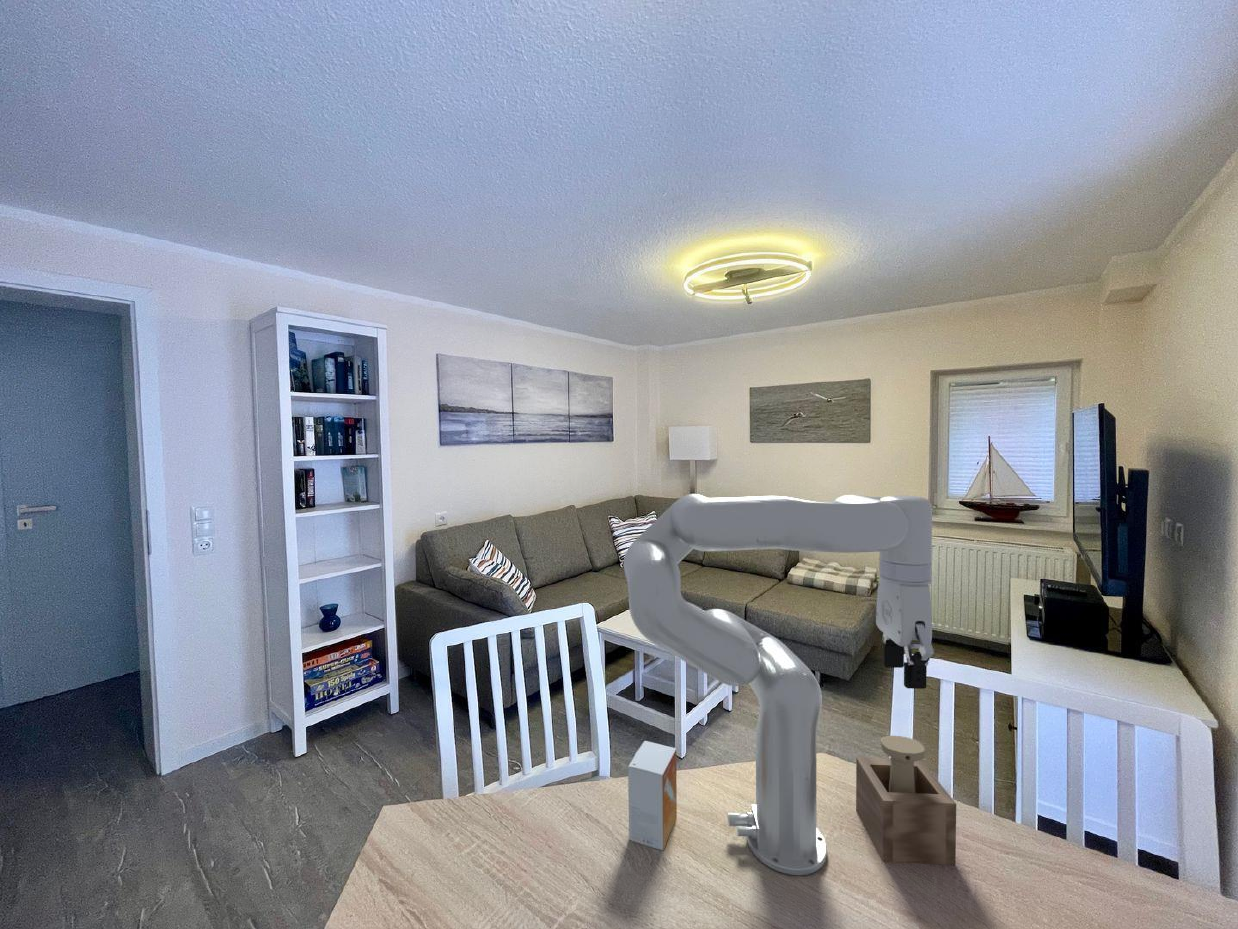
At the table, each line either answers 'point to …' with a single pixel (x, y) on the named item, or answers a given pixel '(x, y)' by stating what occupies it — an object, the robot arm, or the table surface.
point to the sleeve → (906, 814)
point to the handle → (902, 761)
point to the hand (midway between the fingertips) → (903, 676)
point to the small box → (652, 794)
